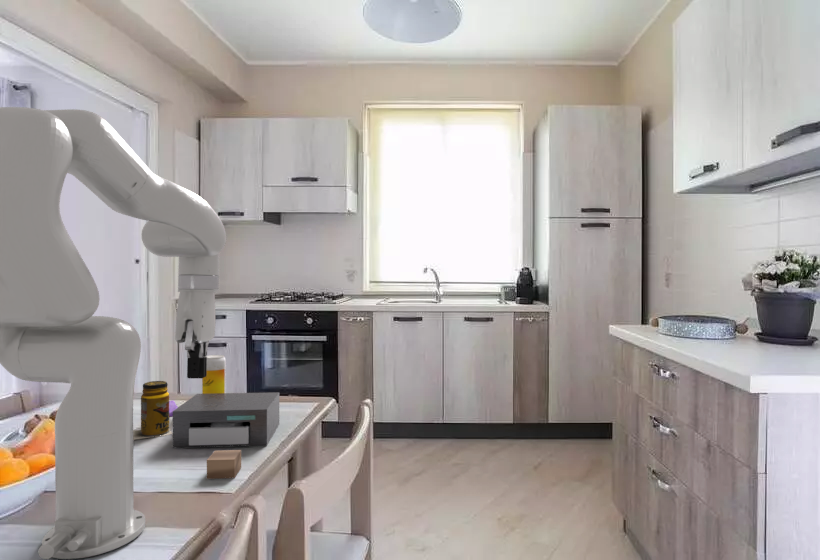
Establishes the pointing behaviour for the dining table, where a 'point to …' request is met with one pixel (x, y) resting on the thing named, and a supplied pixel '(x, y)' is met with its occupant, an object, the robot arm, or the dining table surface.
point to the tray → (219, 435)
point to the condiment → (154, 411)
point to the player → (228, 416)
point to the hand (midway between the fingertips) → (196, 377)
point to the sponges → (172, 407)
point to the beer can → (215, 375)
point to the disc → (226, 424)
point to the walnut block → (224, 464)
